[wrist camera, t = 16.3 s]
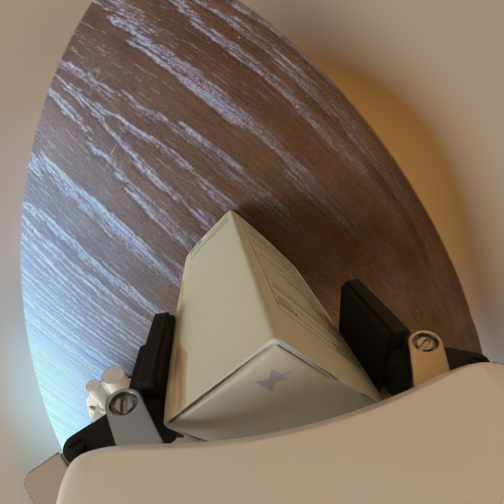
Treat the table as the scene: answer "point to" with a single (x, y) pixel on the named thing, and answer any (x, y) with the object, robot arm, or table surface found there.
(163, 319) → the robot arm
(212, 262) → the cosmetic box
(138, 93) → the table surface
